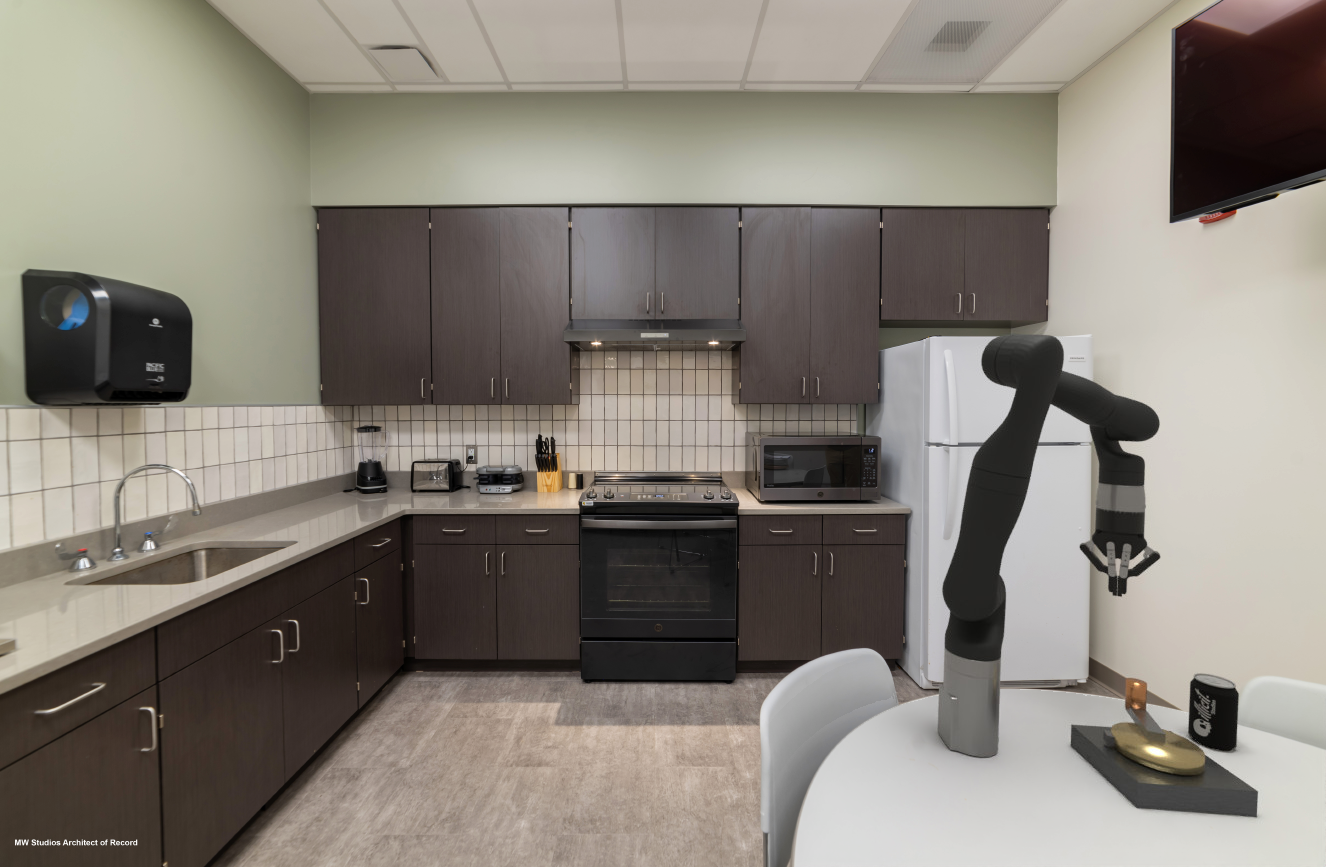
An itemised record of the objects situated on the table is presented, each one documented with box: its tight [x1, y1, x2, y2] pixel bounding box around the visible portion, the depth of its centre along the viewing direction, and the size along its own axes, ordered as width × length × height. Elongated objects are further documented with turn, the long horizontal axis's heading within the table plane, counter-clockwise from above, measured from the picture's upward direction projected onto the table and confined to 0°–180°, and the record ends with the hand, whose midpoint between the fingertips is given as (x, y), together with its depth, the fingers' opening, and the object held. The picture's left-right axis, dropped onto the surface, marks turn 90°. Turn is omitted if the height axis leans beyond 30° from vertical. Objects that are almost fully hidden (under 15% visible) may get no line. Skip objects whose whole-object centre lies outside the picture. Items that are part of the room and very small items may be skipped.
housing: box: [1070, 724, 1259, 818], centre depth 97 cm, size 17×17×4 cm
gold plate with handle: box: [1103, 677, 1206, 775], centre depth 99 cm, size 18×13×8 cm
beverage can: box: [1187, 672, 1240, 752], centre depth 108 cm, size 7×7×12 cm
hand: (1116, 595), depth 113 cm, fingers closed
